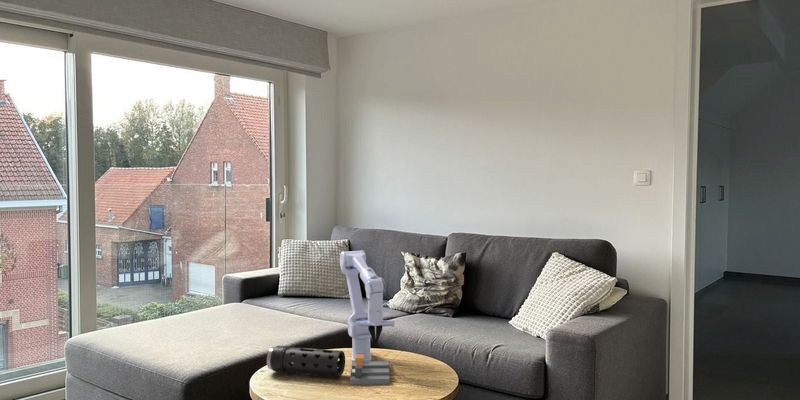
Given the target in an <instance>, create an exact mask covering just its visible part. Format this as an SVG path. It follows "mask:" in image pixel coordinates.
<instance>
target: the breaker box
mask: <svg viewBox="0 0 800 400" xmlns="http://www.w3.org/2000/svg"><path fill="white" fill-rule="evenodd" d="M349 385H350V386H356V385H357V386H359V385H360V386H361V385H363V386H364V385H365V386H366V385H368V386H369V385H371V386H372V385H390V361H389V360H382V361H381V360H379V361H377V360H375V361H374V360H371V361H363V369H362V365H356V361H351V369H350V377H349Z"/></svg>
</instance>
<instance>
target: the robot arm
mask: <svg viewBox="0 0 800 400" xmlns="http://www.w3.org/2000/svg"><path fill="white" fill-rule="evenodd" d="M366 260H367V256H366V253H365V251H364V250H363V249H360V250H352V251H350V250H349V251H344V250H343V251H341V252H340V254H339V266H340V269H341V273H342V274H343V275H345V278H346V283H347V288H348V293H349V300H350V305H351V311H352V314H351V315H350V316H349V317H348V319H347V322H346V323H347V333H348V335H349V337H351V338H352V339H351V340H352V341H351V342H352V346H351V347H352V349H351V350H352V353H351V359H350V362H356V361H355V354H363V361H372V352H371V340H372V343H373V346H374V347H378V344H379V340H380V335H381V333H382V332H383V327H391V328H394V327H395V325H396V323H395V322H396V321H395V320H387V319H384V307H383V305H384V304H383V302H384V297H383V296H384V293H385V291H386V281H385V280H384V278H383V277H380V276H378V275H377V274H376V272H375V271H374V269H373V268H372V267H369V266H368V264H367V261H366ZM359 278H360V279H361V281H362V282H363V284H364V289H365V294H366V295H365V296H366V299H367V312H366V311H365V306H364V305H365V304H364V301H363V296H362V290H361V285H360V279H359Z"/></svg>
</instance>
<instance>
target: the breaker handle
mask: <svg viewBox="0 0 800 400" xmlns="http://www.w3.org/2000/svg"><path fill="white" fill-rule="evenodd" d="M354 362H356V365H362V369H363V354H355V361H354Z"/></svg>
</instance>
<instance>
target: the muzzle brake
mask: <svg viewBox="0 0 800 400" xmlns="http://www.w3.org/2000/svg"><path fill="white" fill-rule="evenodd" d="M266 366H267V368H268V369H269V370H272V371H274V373H277V372H278V373H285V374H286V375H291V376H292V375H293V376H295V375H296V374H302V375H303V374H305V375H309V376H310V377H311V376H316V377H321V378H323V377H324V378H336V379H340V378H341V377H342V375H343V374H344V371H345V367H346V355H345V351H344V350H337V349H335V350H333V349H321V348H320V349H319V348H307V347H306V348H305V347H290V346H287V345H276V346H272V347H270V348H269V350H268V352H267V355H266Z"/></svg>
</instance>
